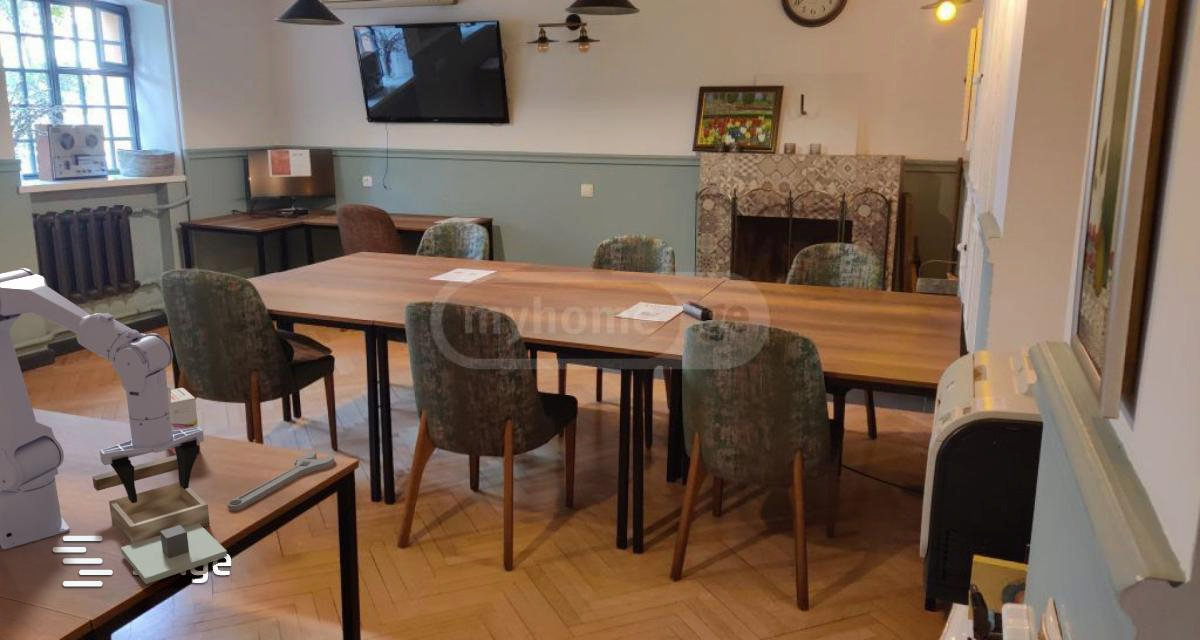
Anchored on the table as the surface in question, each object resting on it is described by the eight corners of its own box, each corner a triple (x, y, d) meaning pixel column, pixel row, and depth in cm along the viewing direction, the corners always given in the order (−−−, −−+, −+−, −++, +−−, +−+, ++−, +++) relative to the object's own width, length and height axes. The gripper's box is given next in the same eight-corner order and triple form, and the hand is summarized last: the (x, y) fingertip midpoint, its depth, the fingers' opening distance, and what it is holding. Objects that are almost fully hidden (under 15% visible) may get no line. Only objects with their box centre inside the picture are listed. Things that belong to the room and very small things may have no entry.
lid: (146, 590, 129) (142, 557, 128) (122, 558, 138) (118, 527, 136) (227, 562, 138) (224, 530, 136) (200, 533, 146) (196, 504, 144)
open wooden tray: (133, 549, 140) (130, 527, 139) (111, 522, 148) (108, 501, 147) (209, 525, 148) (207, 504, 147) (185, 501, 156) (182, 481, 155)
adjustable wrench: (235, 515, 153) (234, 506, 152) (211, 506, 156) (210, 497, 155) (339, 463, 174) (339, 455, 174) (316, 456, 177) (315, 448, 177)
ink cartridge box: (202, 451, 178) (195, 383, 174) (176, 457, 174) (168, 388, 171) (189, 438, 184) (181, 373, 180) (163, 444, 181) (155, 377, 177)
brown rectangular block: (97, 490, 148) (95, 480, 148) (93, 487, 149) (92, 476, 149) (182, 468, 157) (181, 458, 157) (179, 464, 159) (177, 454, 158)
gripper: (105, 432, 127) (116, 516, 130) (207, 410, 136) (215, 488, 140) (92, 418, 132) (103, 500, 135) (191, 398, 141) (199, 474, 145)
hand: (159, 493), depth 138 cm, fingers open, 7 cm apart
